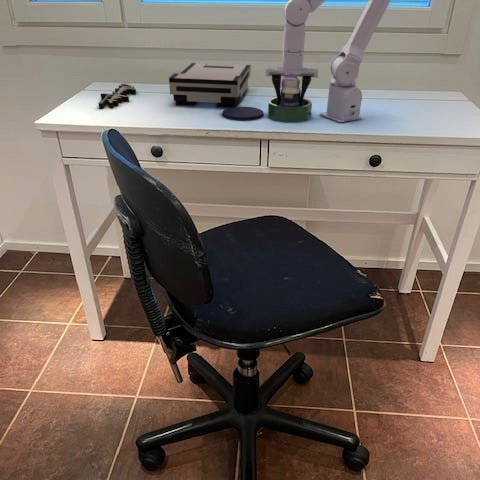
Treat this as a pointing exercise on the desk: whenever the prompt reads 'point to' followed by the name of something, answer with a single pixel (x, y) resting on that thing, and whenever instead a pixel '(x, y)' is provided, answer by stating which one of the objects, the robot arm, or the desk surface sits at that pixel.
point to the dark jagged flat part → (117, 96)
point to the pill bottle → (290, 93)
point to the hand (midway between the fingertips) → (289, 104)
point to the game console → (210, 84)
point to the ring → (289, 111)
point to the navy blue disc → (242, 113)
